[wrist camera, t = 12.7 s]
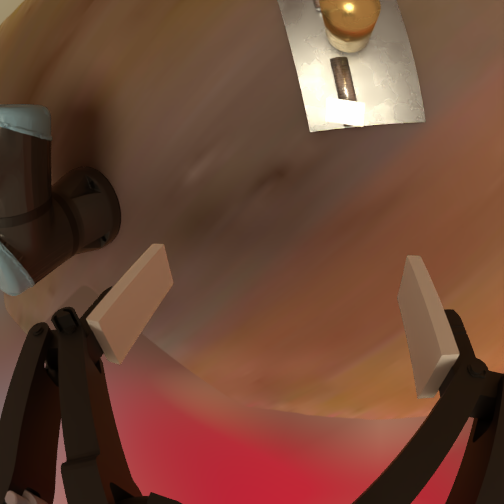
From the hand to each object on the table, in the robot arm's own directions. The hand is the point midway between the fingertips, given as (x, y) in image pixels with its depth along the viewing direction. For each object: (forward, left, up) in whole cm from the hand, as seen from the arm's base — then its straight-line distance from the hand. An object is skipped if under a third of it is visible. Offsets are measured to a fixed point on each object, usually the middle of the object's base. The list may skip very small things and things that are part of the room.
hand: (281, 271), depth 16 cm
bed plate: (+4, +18, -24) cm, 30 cm away
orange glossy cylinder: (+4, +18, -22) cm, 29 cm away
